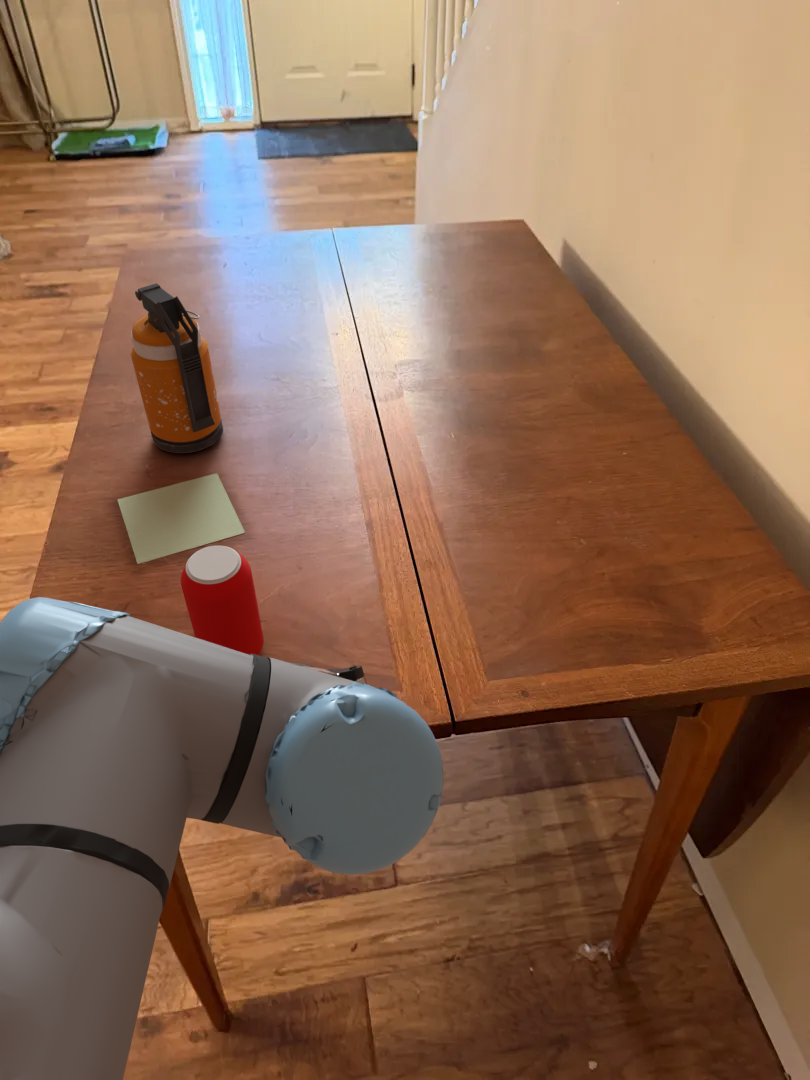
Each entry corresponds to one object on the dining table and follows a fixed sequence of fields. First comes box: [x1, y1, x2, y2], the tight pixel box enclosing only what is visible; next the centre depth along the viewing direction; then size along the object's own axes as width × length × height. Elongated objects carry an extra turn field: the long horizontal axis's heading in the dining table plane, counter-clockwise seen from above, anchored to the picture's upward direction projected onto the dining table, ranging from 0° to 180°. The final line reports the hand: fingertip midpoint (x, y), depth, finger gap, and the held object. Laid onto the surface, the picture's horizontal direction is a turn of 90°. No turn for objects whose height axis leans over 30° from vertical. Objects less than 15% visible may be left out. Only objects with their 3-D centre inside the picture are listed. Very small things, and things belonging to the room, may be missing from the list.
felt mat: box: [116, 472, 246, 565], centre depth 90 cm, size 12×12×1 cm
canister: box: [130, 283, 224, 454], centre depth 94 cm, size 9×11×20 cm
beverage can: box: [180, 544, 265, 656], centre depth 71 cm, size 6×6×12 cm
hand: (252, 690), depth 68 cm, fingers closed
